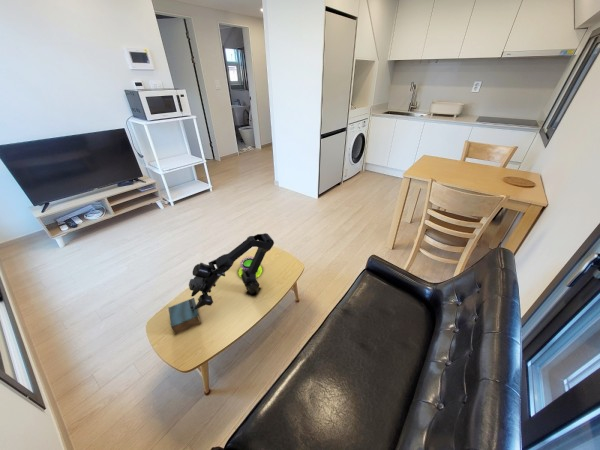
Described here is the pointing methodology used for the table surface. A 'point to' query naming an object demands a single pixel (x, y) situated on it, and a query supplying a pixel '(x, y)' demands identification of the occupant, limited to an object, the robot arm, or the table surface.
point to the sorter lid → (182, 312)
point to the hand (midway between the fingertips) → (193, 302)
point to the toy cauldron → (246, 266)
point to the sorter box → (186, 325)
